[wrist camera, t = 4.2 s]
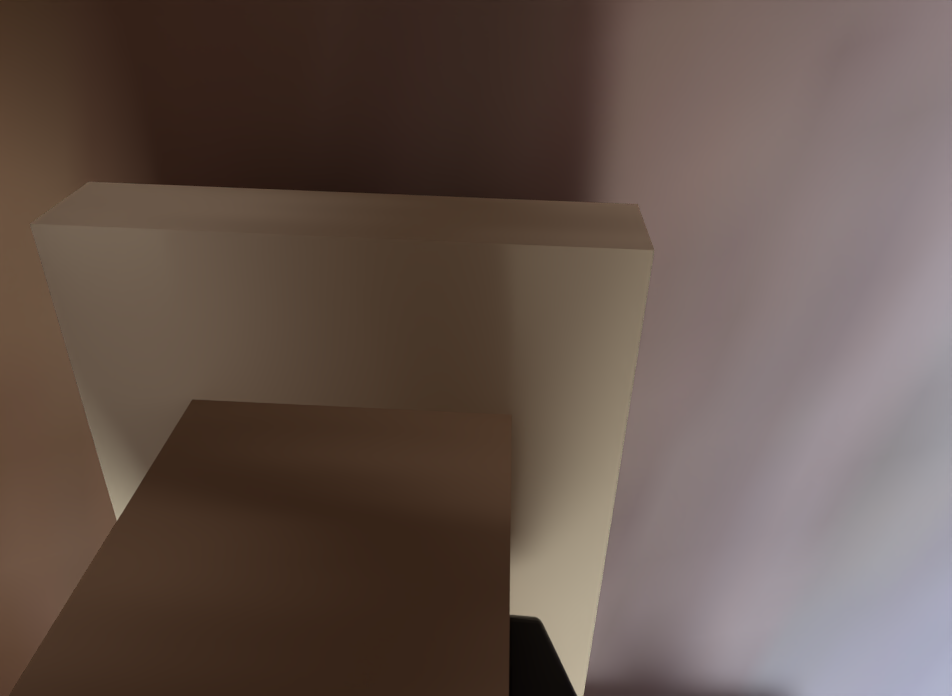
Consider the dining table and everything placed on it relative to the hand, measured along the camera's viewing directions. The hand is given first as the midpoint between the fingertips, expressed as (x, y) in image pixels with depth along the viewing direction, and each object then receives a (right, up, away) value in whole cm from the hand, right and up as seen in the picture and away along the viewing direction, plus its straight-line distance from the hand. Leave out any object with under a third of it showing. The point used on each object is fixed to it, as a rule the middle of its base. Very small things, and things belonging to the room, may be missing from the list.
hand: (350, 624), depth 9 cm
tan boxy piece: (0, +1, +2) cm, 2 cm away
